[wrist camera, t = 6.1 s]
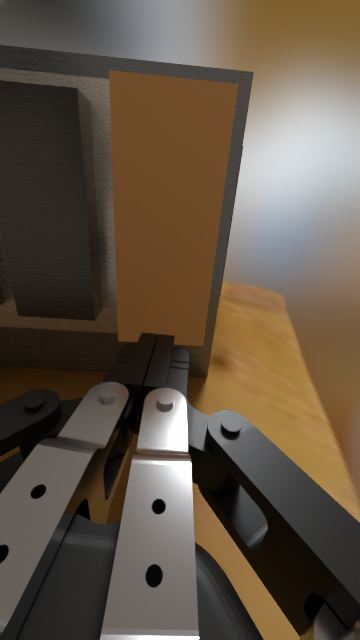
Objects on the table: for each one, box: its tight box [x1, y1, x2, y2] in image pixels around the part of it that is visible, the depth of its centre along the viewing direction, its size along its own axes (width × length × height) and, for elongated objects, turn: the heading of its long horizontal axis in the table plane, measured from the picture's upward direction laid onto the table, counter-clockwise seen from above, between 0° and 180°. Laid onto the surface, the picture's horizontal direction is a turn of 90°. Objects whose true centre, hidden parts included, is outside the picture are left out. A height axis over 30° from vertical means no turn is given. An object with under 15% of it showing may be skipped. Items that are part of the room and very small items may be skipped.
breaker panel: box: [0, 45, 253, 377], centre depth 19 cm, size 22×8×20 cm, turn 91°
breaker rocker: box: [109, 70, 238, 346], centre depth 14 cm, size 5×3×12 cm, turn 91°
